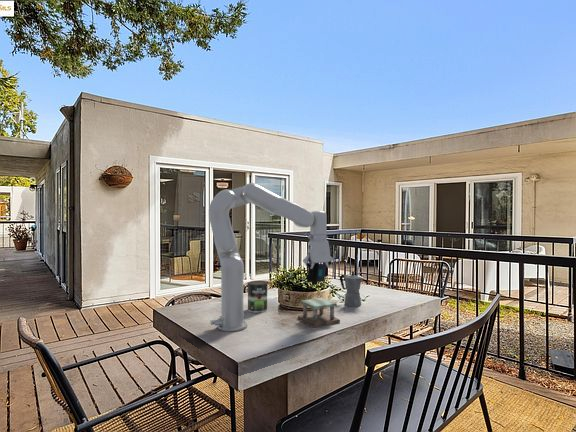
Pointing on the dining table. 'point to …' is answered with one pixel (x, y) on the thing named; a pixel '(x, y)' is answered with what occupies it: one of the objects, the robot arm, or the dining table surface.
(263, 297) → the coffee can
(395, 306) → the dining table surface
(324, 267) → the speaker
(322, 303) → the peg shelf stand
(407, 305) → the dining table surface
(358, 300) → the coffeepot
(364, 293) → the dining table surface
